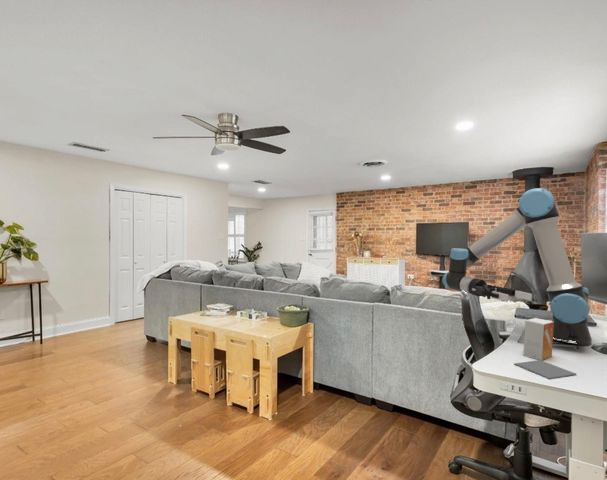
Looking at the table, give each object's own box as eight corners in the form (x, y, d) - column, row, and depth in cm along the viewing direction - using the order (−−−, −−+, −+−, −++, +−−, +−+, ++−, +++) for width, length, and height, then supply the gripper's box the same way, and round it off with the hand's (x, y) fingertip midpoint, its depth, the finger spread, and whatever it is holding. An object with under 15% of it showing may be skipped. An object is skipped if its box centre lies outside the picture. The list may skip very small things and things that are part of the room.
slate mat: (540, 361, 123) (540, 360, 123) (576, 375, 111) (576, 373, 111) (514, 364, 119) (514, 363, 119) (549, 379, 107) (549, 378, 107)
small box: (542, 361, 123) (544, 324, 122) (522, 355, 128) (524, 320, 128) (552, 356, 127) (554, 321, 127) (533, 351, 132) (535, 317, 132)
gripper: (492, 294, 160) (539, 306, 140) (451, 295, 150) (495, 308, 130) (494, 277, 159) (541, 287, 140) (453, 278, 149) (498, 288, 130)
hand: (519, 297), depth 135 cm, fingers open, 13 cm apart
